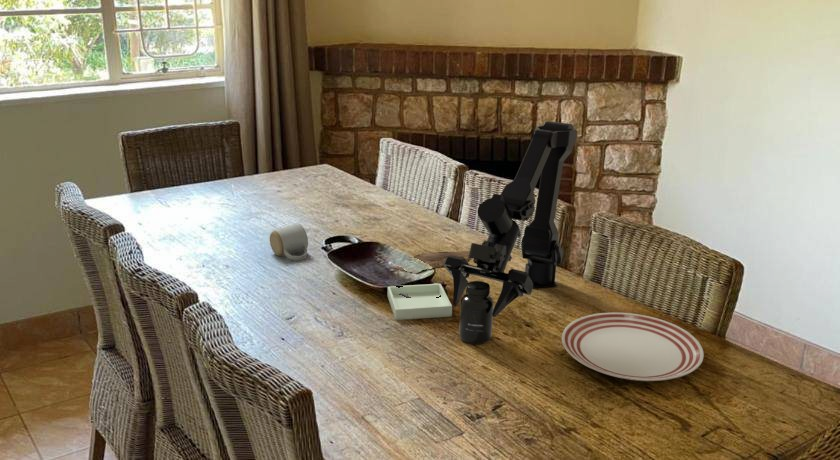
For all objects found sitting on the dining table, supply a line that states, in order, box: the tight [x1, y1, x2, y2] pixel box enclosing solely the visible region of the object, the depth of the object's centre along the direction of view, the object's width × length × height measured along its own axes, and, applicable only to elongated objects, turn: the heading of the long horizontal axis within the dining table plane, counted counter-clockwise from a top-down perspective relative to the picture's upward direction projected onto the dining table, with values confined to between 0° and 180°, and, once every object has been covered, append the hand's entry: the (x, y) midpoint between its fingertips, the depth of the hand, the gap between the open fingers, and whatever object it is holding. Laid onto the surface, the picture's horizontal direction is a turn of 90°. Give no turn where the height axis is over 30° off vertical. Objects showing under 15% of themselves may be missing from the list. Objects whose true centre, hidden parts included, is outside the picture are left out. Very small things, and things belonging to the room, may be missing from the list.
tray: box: [387, 283, 453, 321], centre depth 175 cm, size 13×13×2 cm
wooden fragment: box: [392, 250, 471, 272], centre depth 202 cm, size 26×11×1 cm, turn 119°
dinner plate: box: [561, 312, 705, 382], centre depth 154 cm, size 28×27×3 cm
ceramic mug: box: [269, 222, 309, 262], centre depth 203 cm, size 11×8×8 cm
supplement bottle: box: [458, 280, 495, 345], centre depth 159 cm, size 7×7×12 cm
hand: (473, 311), depth 158 cm, fingers open, 9 cm apart
